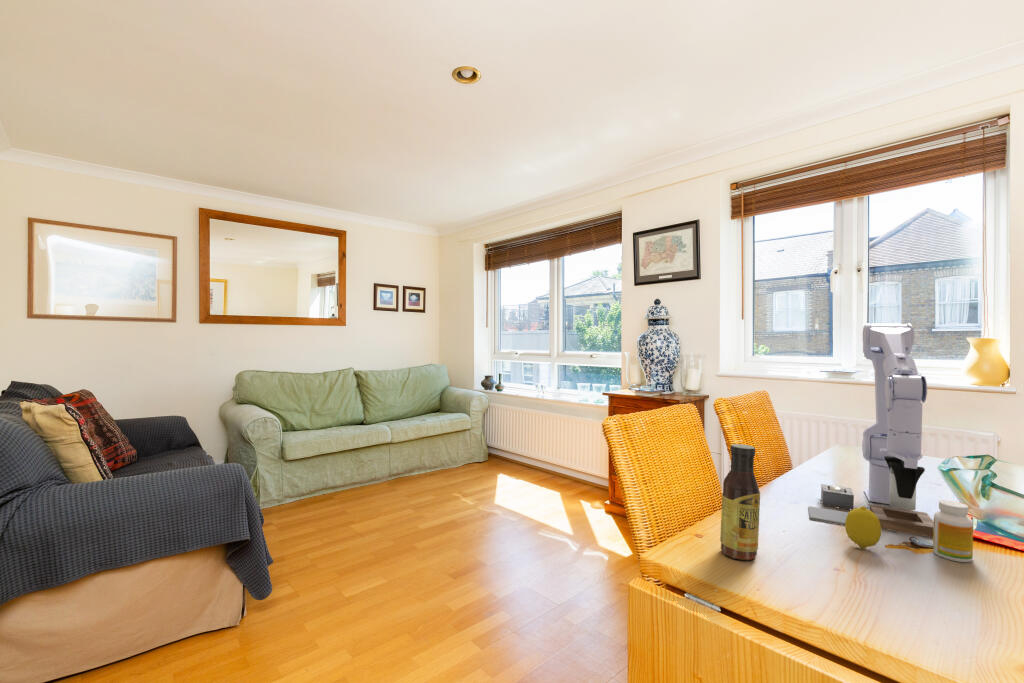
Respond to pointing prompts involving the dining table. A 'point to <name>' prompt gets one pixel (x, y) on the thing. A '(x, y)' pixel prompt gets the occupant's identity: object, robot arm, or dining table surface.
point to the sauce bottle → (740, 506)
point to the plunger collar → (837, 497)
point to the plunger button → (837, 489)
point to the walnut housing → (903, 520)
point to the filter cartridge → (898, 501)
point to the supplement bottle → (953, 532)
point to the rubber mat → (827, 515)
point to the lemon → (863, 527)
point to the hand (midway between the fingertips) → (902, 494)
